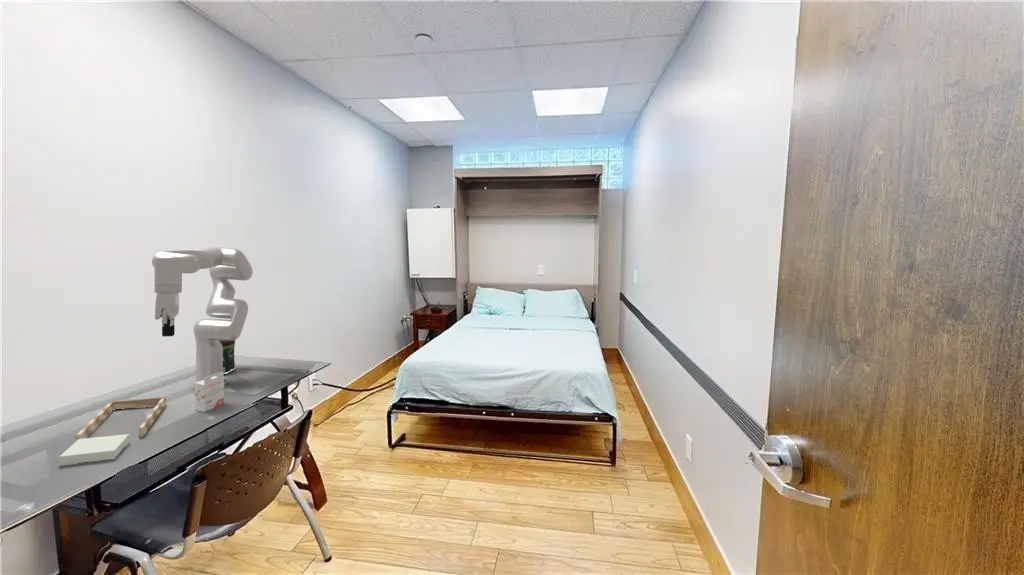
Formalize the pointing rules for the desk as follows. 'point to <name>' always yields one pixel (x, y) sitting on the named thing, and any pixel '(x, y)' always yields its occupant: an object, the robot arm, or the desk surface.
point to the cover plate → (94, 449)
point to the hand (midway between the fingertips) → (168, 335)
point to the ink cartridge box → (209, 392)
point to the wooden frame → (134, 403)
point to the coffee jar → (228, 355)
